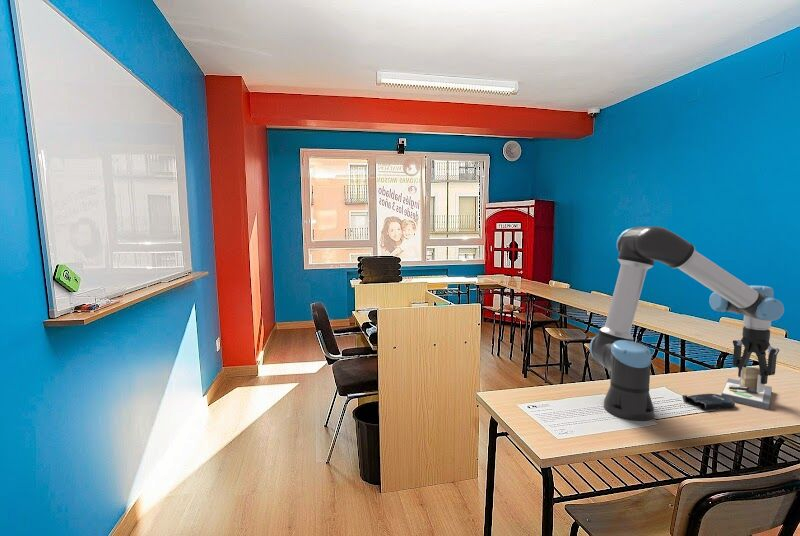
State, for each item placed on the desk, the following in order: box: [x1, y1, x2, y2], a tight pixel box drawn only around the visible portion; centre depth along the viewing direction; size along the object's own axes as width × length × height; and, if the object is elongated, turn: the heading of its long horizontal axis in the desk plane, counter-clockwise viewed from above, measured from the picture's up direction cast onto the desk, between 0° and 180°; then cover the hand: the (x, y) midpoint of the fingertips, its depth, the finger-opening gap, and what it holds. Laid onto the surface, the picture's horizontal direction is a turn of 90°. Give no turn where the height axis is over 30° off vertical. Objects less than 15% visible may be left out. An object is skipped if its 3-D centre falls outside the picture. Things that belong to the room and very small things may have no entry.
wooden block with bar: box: [729, 366, 761, 394], centre depth 147 cm, size 3×10×9 cm, turn 76°
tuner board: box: [720, 377, 773, 410], centre depth 149 cm, size 22×13×2 cm, turn 135°
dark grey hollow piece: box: [682, 393, 736, 411], centre depth 141 cm, size 9×6×15 cm
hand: (751, 388), depth 147 cm, fingers closed on wooden block with bar, 5 cm apart
